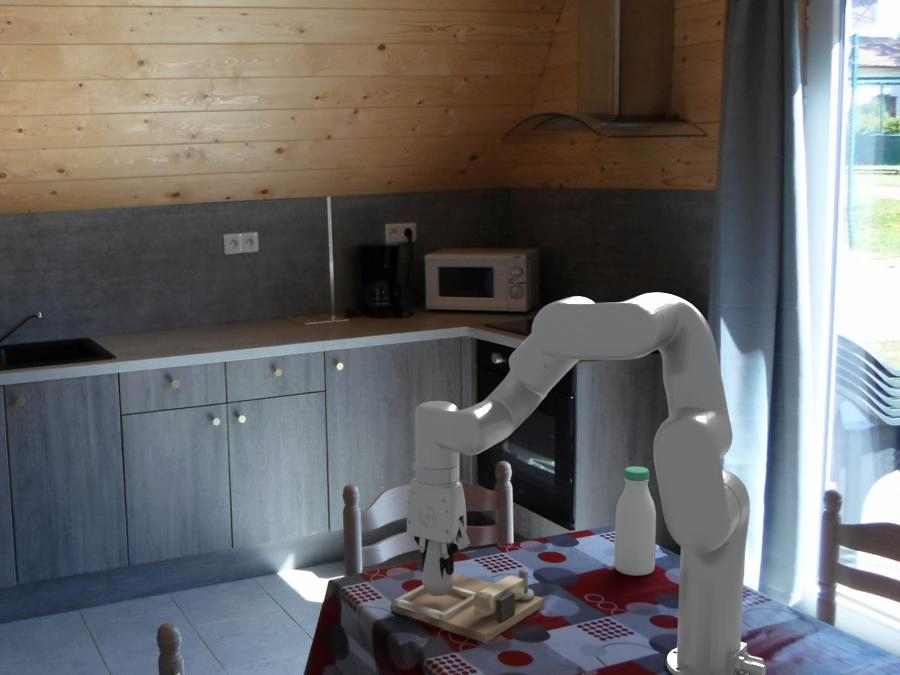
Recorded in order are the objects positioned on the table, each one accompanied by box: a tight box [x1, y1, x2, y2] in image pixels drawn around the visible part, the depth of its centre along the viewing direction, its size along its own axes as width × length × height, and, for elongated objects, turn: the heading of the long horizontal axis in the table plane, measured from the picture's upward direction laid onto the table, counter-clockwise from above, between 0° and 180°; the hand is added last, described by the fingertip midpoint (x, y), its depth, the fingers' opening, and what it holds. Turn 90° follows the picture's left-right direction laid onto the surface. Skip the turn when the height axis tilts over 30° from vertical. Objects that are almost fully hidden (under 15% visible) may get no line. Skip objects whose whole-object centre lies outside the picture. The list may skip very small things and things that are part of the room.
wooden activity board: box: [391, 568, 545, 644], centre depth 186 cm, size 20×18×6 cm
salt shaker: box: [421, 540, 455, 596], centre depth 185 cm, size 6×6×13 cm
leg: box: [474, 574, 524, 616], centre depth 182 cm, size 12×3×3 cm, turn 142°
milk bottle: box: [613, 465, 657, 577], centre depth 203 cm, size 8×8×20 cm
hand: (438, 574), depth 185 cm, fingers closed on salt shaker, 3 cm apart
